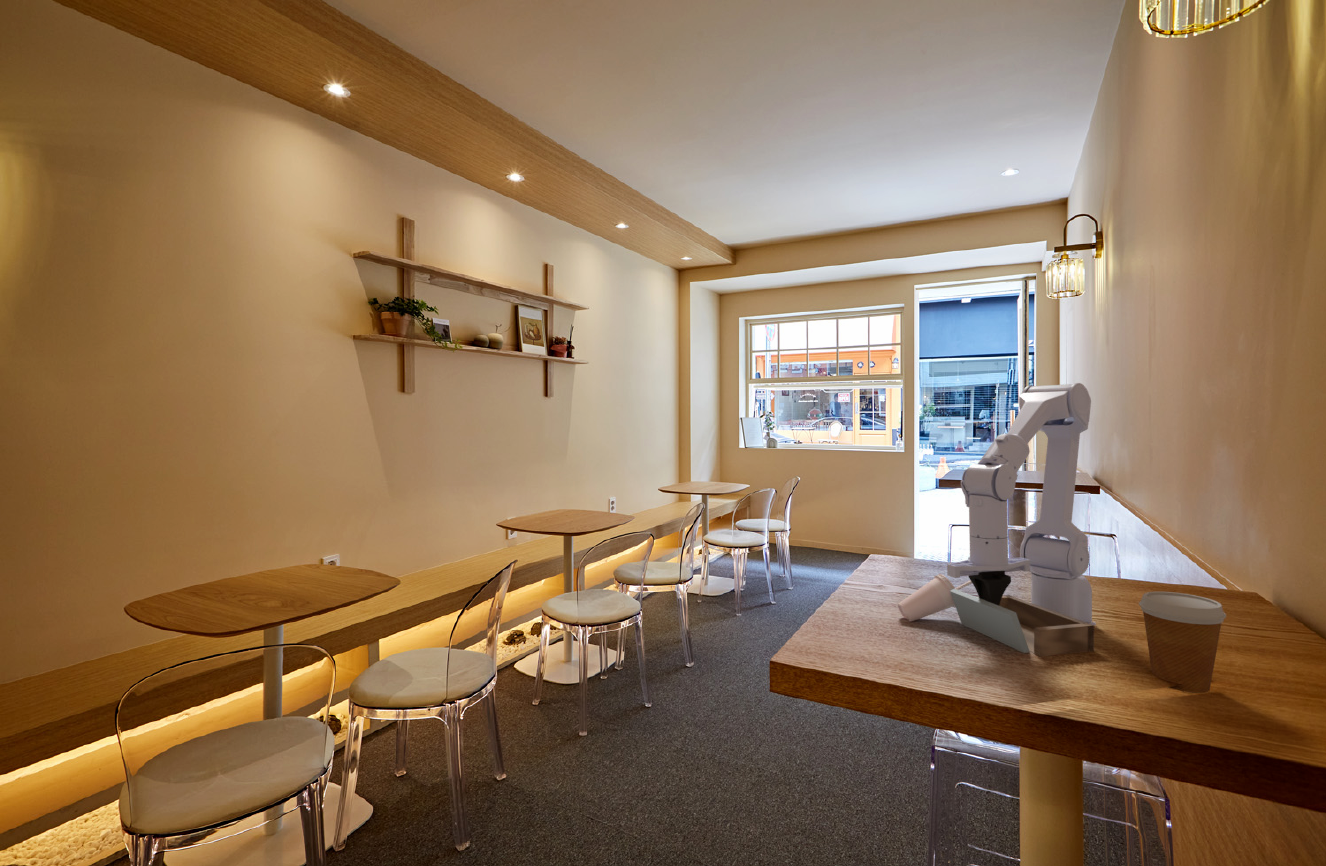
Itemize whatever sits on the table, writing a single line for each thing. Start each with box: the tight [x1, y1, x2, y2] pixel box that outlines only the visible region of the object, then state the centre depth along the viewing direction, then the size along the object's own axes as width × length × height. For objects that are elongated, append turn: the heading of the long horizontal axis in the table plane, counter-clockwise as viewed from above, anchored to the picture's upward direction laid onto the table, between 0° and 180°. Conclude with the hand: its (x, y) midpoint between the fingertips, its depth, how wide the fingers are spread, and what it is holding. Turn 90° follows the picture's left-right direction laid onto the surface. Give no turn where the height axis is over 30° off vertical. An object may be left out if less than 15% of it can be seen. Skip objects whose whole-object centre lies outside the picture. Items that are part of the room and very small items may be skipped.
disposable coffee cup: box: [1138, 591, 1227, 694], centre depth 88 cm, size 10×10×12 cm
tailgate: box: [950, 589, 1031, 654], centre depth 105 cm, size 1×14×7 cm, turn 12°
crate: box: [977, 594, 1095, 657], centre depth 106 cm, size 10×18×5 cm, turn 12°
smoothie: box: [897, 573, 973, 622], centre depth 115 cm, size 6×6×14 cm
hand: (989, 616), depth 105 cm, fingers closed, pressing on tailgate
